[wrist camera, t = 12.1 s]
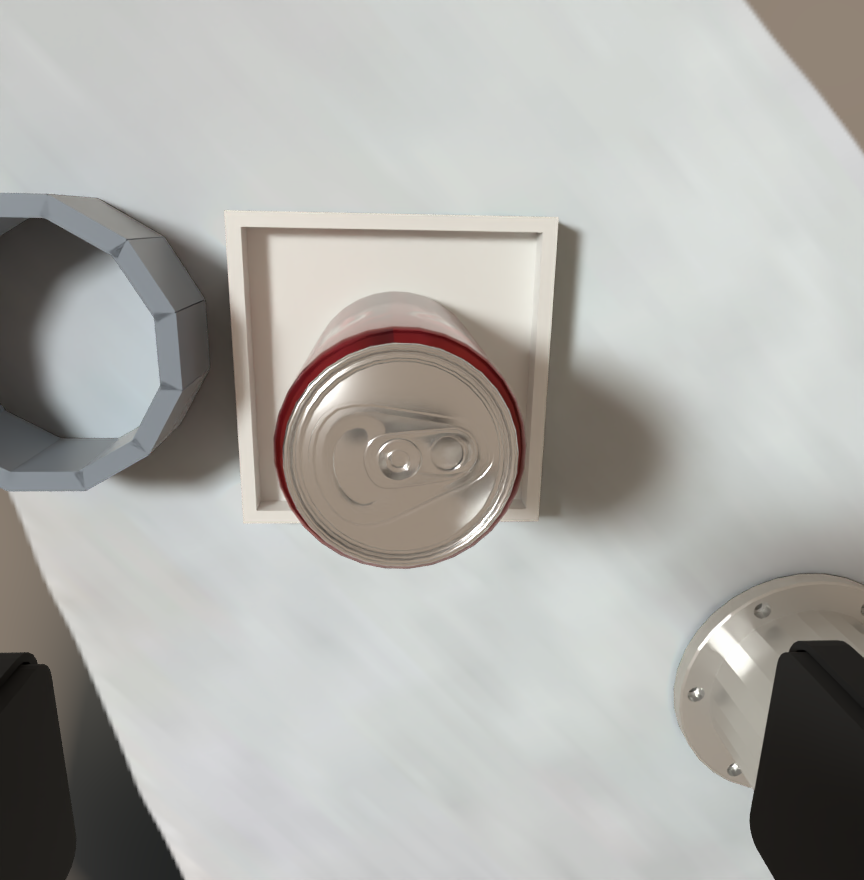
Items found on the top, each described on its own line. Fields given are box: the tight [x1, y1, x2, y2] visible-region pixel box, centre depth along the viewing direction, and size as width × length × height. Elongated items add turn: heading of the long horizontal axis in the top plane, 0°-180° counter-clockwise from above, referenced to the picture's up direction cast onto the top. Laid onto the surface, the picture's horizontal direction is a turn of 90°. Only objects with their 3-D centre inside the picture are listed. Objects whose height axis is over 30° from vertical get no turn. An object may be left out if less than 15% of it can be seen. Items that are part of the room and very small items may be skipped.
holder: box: [0, 193, 210, 491], centre depth 29 cm, size 11×11×4 cm
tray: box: [224, 210, 559, 524], centre depth 31 cm, size 13×13×2 cm
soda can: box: [273, 291, 527, 569], centre depth 26 cm, size 7×7×12 cm
